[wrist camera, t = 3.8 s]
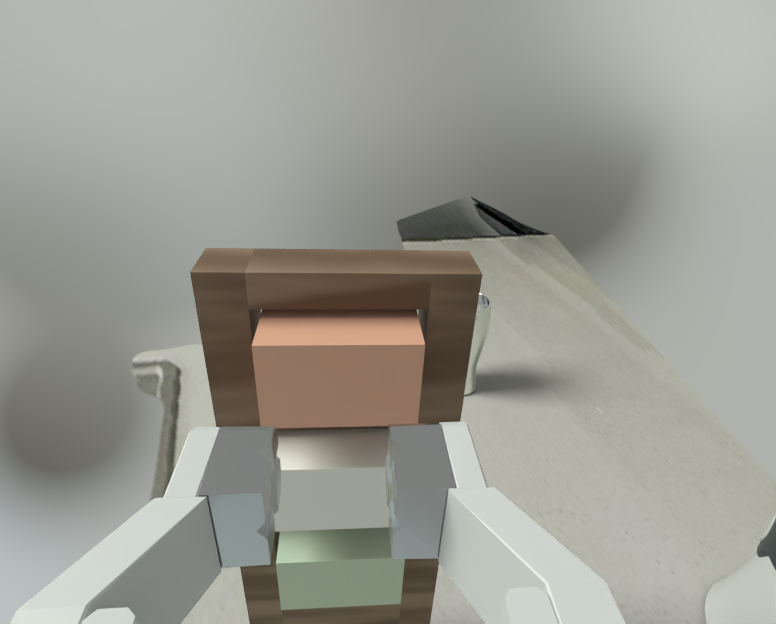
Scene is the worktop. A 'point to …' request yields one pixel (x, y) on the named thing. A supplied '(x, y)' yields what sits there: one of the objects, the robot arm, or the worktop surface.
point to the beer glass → (478, 340)
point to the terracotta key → (338, 367)
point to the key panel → (335, 291)
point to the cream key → (332, 479)
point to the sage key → (337, 568)
